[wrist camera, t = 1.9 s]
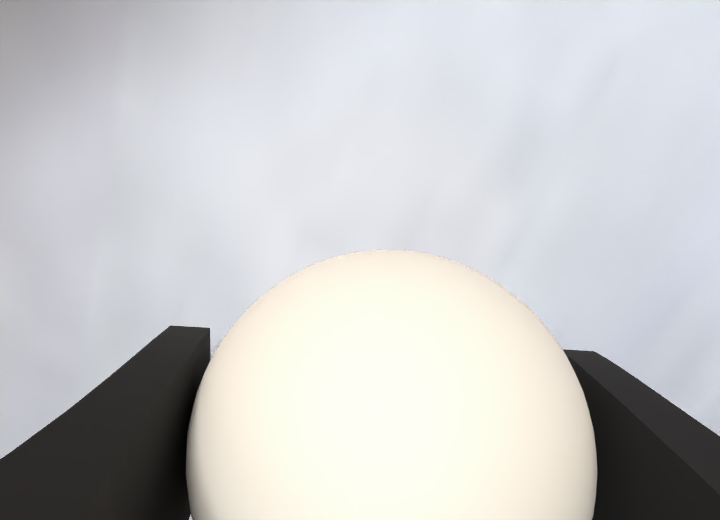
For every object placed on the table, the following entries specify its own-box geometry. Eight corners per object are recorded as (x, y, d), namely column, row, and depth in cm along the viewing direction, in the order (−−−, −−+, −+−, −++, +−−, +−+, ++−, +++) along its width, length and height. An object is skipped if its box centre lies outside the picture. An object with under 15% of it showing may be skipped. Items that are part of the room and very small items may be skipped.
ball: (552, 208, 9) (799, 449, 4) (488, 450, 12) (601, 784, 7) (225, 182, 9) (86, 415, 4) (227, 439, 11) (141, 787, 6)
